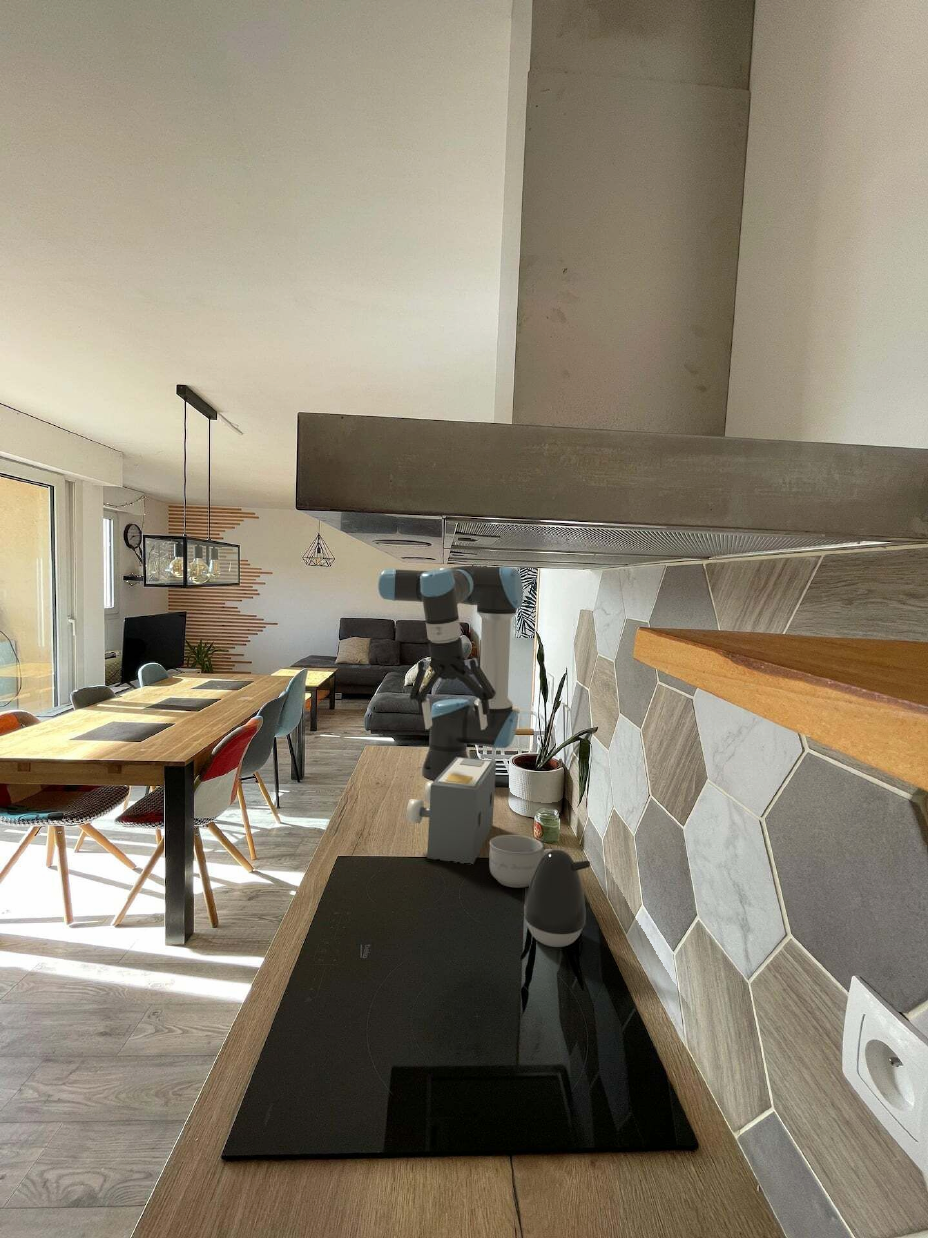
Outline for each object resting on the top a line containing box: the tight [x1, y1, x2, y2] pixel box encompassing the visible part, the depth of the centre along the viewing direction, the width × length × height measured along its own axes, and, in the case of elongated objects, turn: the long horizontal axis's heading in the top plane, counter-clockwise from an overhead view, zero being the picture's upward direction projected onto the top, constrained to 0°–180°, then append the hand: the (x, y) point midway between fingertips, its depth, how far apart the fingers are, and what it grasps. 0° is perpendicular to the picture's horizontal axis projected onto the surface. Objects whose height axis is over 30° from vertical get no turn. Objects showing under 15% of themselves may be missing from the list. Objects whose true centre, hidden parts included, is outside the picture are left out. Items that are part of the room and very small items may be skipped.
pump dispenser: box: [524, 848, 591, 948], centre depth 110 cm, size 10×10×15 cm
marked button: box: [406, 798, 430, 824], centre depth 144 cm, size 5×8×5 cm, turn 77°
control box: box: [426, 757, 497, 865], centre depth 150 cm, size 24×10×16 cm, turn 167°
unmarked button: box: [423, 780, 434, 804], centre depth 158 cm, size 5×8×5 cm, turn 77°
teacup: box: [488, 834, 553, 889], centre depth 130 cm, size 14×11×8 cm
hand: (456, 727), depth 151 cm, fingers open, 13 cm apart
